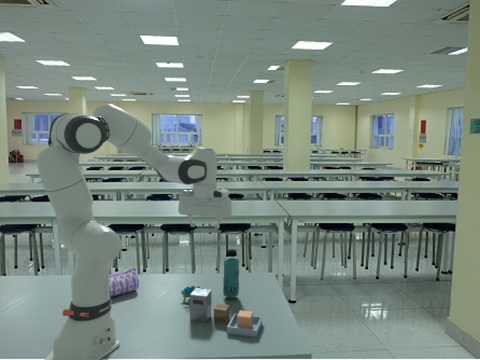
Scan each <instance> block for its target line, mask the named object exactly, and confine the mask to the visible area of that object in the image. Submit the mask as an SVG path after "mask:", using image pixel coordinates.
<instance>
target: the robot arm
mask: <svg viewBox="0 0 480 360" xmlns="http://www.w3.org/2000/svg"><path fill="white" fill-rule="evenodd" d="M105 142H109V143H110V144H111V145H113V146H114V147H115V148H117V149H119V150H121V151H123V152H124V153H127V154H129V155H131V156H134V157H137V158H139V160H141V161H142V162H144V163H146V164H147V165H149V166H150V167H152V168H153V170H154V171H156V173H157V175H158V176H159V178H160V179H161V180H162V181H164V182H166V183H173V184H174V183H175V184H181V185H192V190H190V189H189V190H186V189H183V190H182V189H181V191H179V193H178V201H179V202H178V208H177V209H178V210H177V212H178V214H179V215H182V216H184V215H185V216H187V219H188V221H189V223H190V227H192V228H195V227H196V221H194V220H193V217H194V216H197V217H213V218H217V220H218V221H217V222H215V223H214V224H213V225H214V230H219V229H220V224H221V222H222V221H223V218H227V219H228V218H230V217H231V216H232V213H233V206H232V200H231V198H230V197H229V195H230V190H228V189H227V188H226V189H225V188H223V187H220V186H218V182H217V181H218V180H217V174H218V173H217V172H218V160H217V154H216V151H215V150H214V149H212V148H208V147H202V146H201V147H200V146H199V147H198V146H197V147H195V148H194V149H193V151H192V152H190V153H189V154H187V155H184V156H177V155H172V154H165V153H163V152H162V151H161V150H159V149H158V148H157V147H155V146H154V145H152V144H151V143H152V132H151V129H150V128H149V127H148V126H147V125H146V124H145V123H144V122H143V121H141V120H140V119H138V118H137V117H136V116H134V115H132V114H131V113H130V112H127V111H126V110H124V109H123V108H120V107H119V106H116V105H113V104H112V103H103V104H100V105H99V106H98V107H96V108H95V110H94V111H93V112H92V114H91V115H87V114H86V115H85V114H81V113H75V112H74V113H63V114H60V115H58V116H57V117H55V118H54V119H53V120H52V122H51V123H50V125H49V136H48V140H47V144H48V146H47V147H45V148H44V149H43V150H41V151H40V152H39V153H38V155H37V156H36V165H37V170H38V174H39V177H40V180H41V183H42V187H43V188H44V190H45V194H47V196H48V200H49V202H50V204H51V207H52V209H53V211H54V213H55V216H56V220H57V225H58V230H59V232H58V238H59V241H60V243H61V244H62V245H63V246H64V248H65V249H66V250H68V251H69V252H71V253H73V254H75V255H76V256H77V264H76V269H75V272H74V273H73V274H72V275H71V280H70V282H71V283H70V284H71V301H70V305H69V309H68V308H64V309H63V311H62V316H64V317H67V319H66V320H65V322H64V324H63V325H62V327H61V329H60V330H59V332H58V333H57V335H56V337H55V338H54V340H53V341H54V342H53V346H52V347H53V348H52V350H51V351H50V353H48V355H47V356H46V357H45V358H44V360H102V359H103V358H105V356H107V355H108V354H110V353H111V352H113V351H114V350H116V349H117V348H119V347H120V345H121V342H120V340H119V339H118V338H117V337H118V336H117V331H116V330H117V329H116V323H115V317H113V314H112V311H111V309H112V297H110V295H109V276H110V275H111V274H110V272H111V267H112V263H113V261H114V260H115V259H116V258H117V256H118V255H119V253H120V252H121V248H122V241H121V238H120V236H119V234H117V233H116V231H114V230H113V229H112V228H110V227H108V226H106V225H103V224H101V223H98V222H97V221H96V219H95V217H94V215H93V205H94V203H93V202H94V197H93V195H92V192H91V190H90V187H89V185H88V182H87V180H86V178H85V176H84V173H83V171H82V168H81V167H80V166H81V164H80V156H81V155H87V154H91V153H94V152H96V151H98V150H99V149H100V148H101V147H102V146H103V144H104V143H105Z"/></svg>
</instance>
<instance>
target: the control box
mask: <svg viewBox="0 0 480 360" xmlns="http://www.w3.org/2000/svg"><path fill="white" fill-rule="evenodd" d="M211 317H212V289H209V288H208V289H207V288H205V289H202V288H201V287H200V288H197V287H195V289H194V291H193V292H192V293H191V294H190V297H189V322H192V323H197V324H198V323H200V324H207V323H208V322H209V320H210V318H211Z"/></svg>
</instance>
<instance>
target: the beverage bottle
mask: <svg viewBox="0 0 480 360" xmlns="http://www.w3.org/2000/svg"><path fill="white" fill-rule="evenodd" d="M237 256H238V252H237V250H236V249H234V248H233V249H232V248H231V249H228V250H227V251H226V258H225V259H224V260H223V282H222V283H223V284H222V285H223V286H222V291H223V293H222V295H223V296H224V297H226V298H229V299H230V298H236V297H238V296H239V292H240V283H239V282H240V277H239V276H240V260H239V258H237Z"/></svg>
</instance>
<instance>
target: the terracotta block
mask: <svg viewBox="0 0 480 360" xmlns="http://www.w3.org/2000/svg"><path fill="white" fill-rule="evenodd" d="M237 314H238V315H237V327H239V328H247V329H251V328H252V325H253V316H254V311H249V310H241V309H240V310H239V311H238V313H237Z"/></svg>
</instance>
